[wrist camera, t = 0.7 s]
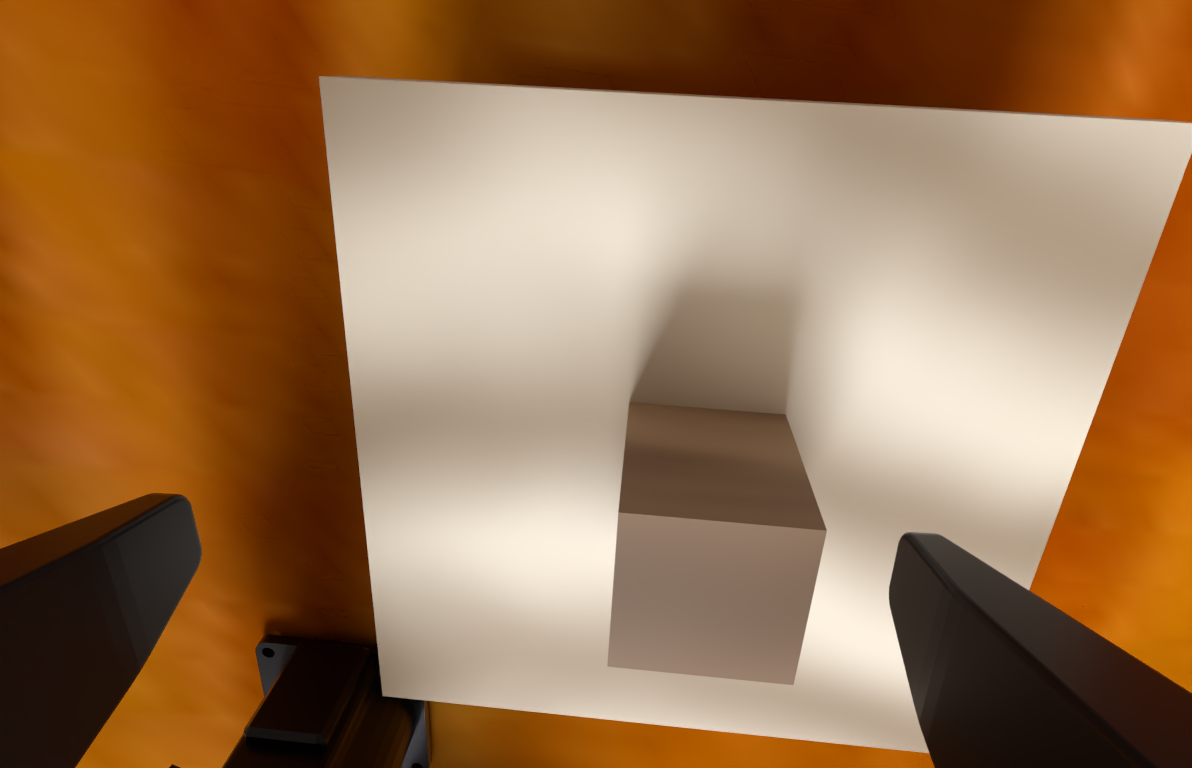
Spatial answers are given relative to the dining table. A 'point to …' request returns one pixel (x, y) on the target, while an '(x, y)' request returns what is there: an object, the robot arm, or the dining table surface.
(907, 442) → the lid
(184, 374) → the dining table surface
